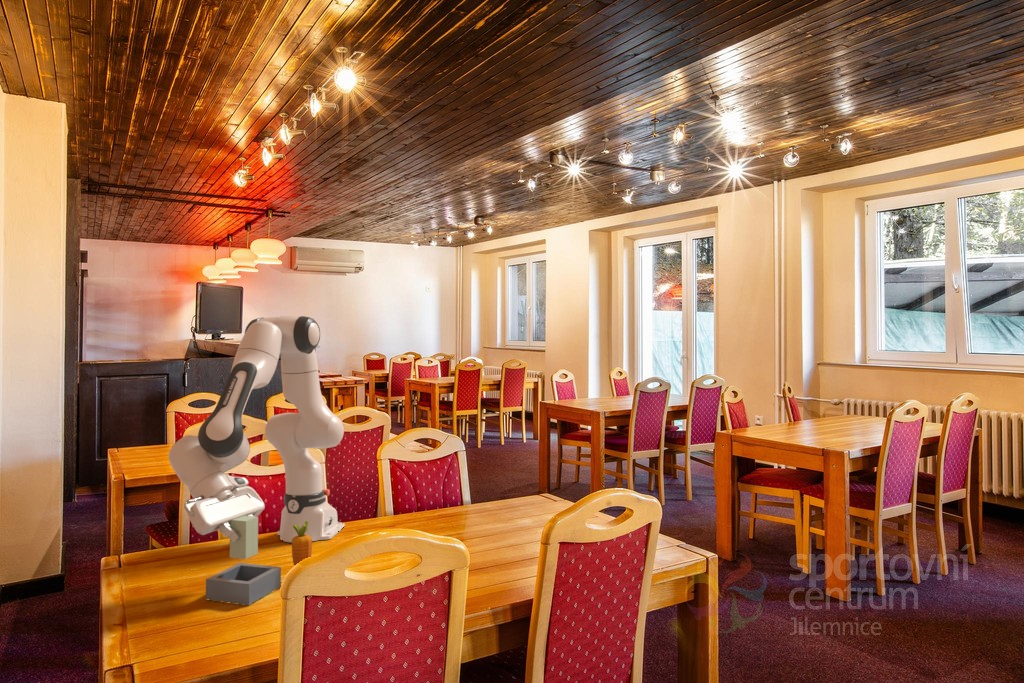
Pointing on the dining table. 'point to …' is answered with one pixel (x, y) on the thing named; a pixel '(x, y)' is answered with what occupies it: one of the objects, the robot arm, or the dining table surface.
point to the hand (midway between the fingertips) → (246, 535)
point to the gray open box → (243, 583)
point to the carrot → (301, 544)
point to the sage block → (244, 537)
